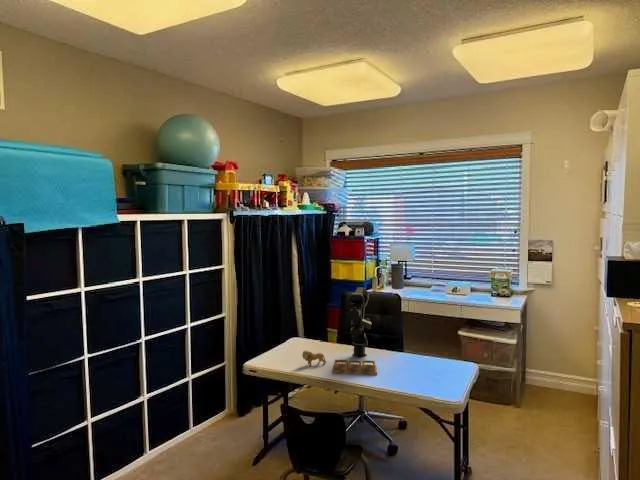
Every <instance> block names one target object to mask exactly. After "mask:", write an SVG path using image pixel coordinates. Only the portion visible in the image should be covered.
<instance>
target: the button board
mask: <svg viewBox="0 0 640 480" xmlns="http://www.w3.org/2000/svg"><path fill="white" fill-rule="evenodd" d="M337 362H346V364H336V363H337ZM350 362H357V363H359V364H350ZM364 362H365V363H373V365H369V364H364ZM331 373H336V375H337V374H339V375H365V376H366V375H367V376H369V375H370V376H377V375H378V365H376V360H365V359H363V360H362V359H334V362H333V365H332V370H331Z"/></svg>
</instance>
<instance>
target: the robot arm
mask: <svg viewBox="0 0 640 480" xmlns="http://www.w3.org/2000/svg"><path fill="white" fill-rule="evenodd" d="M369 298H370V296H369V292H368V291H367V290H366V288H365V287H364V286H363V287H359V286H358V287H356V290H355V291H354V292H352V293H350V295H349V301H348V307H349V308H351V309H350V311H349V312H348V317H349V318H350V319H351V328H350V335H352V336H351V346H352V347H353V353H352V354H351V355H352V356H354V357H357V358H362V357H366V356H368V354H366V347H368V346H369V345H368V343H369V342H368V338H367V336H366V333H365V331H364V328H365V329H367V330H370V329H371V326H372V321H370V318H366V319H365V308H366V307H367V305H368V301H369Z"/></svg>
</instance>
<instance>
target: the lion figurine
mask: <svg viewBox="0 0 640 480" xmlns="http://www.w3.org/2000/svg"><path fill="white" fill-rule="evenodd" d="M301 356H302V359H303V360H304V361H306V362H307V364H309V365H308V367H312V361H316V360H318V362H317V363H319V364H320V363H321V362H322V365H323V366H325V365H326V364H327V361H326V360H325V355H324V354H323V353H322V352H317V353H312V352H311V351H308V350H303V351H302V353H301Z"/></svg>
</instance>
